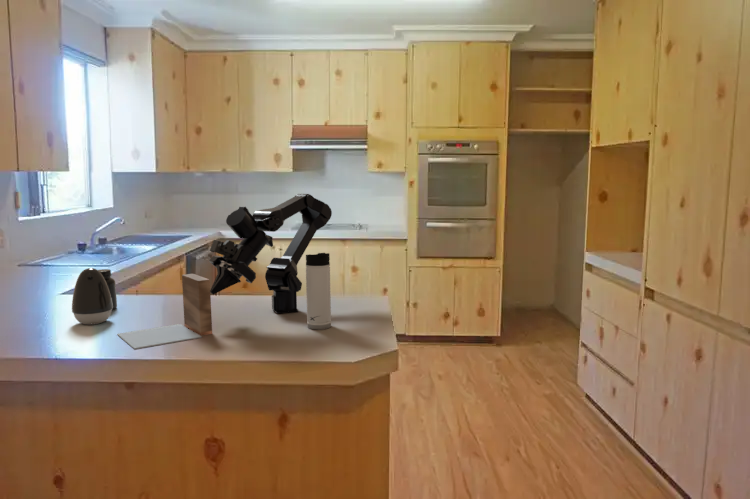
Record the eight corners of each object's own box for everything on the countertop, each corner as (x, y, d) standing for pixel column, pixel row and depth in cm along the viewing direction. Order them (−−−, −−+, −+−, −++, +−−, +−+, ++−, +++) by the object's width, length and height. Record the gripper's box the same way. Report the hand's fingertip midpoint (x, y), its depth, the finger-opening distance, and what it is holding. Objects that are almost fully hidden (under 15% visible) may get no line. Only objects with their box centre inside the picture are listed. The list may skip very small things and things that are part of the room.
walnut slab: (195, 324, 159) (193, 273, 157) (212, 333, 149) (209, 279, 148) (184, 326, 157) (181, 274, 155) (200, 335, 148) (198, 280, 146)
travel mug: (313, 331, 151) (311, 254, 148) (303, 325, 156) (302, 251, 154) (335, 328, 154) (333, 252, 151) (325, 322, 159) (324, 249, 157)
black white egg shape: (71, 328, 155) (67, 272, 154) (74, 320, 165) (70, 266, 163) (113, 324, 159) (110, 269, 158) (113, 316, 169) (110, 264, 167)
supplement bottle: (97, 307, 182) (95, 268, 180) (120, 306, 182) (117, 268, 181) (88, 312, 175) (86, 272, 173) (112, 311, 175) (109, 271, 174)
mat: (180, 324, 158) (180, 323, 158) (201, 337, 146) (201, 336, 146) (117, 334, 149) (117, 333, 149) (134, 349, 136) (134, 348, 136)
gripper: (214, 226, 163) (177, 269, 158) (243, 231, 148) (202, 279, 143) (242, 252, 169) (206, 294, 163) (272, 259, 154) (234, 306, 149)
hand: (211, 293), depth 154 cm, fingers closed
